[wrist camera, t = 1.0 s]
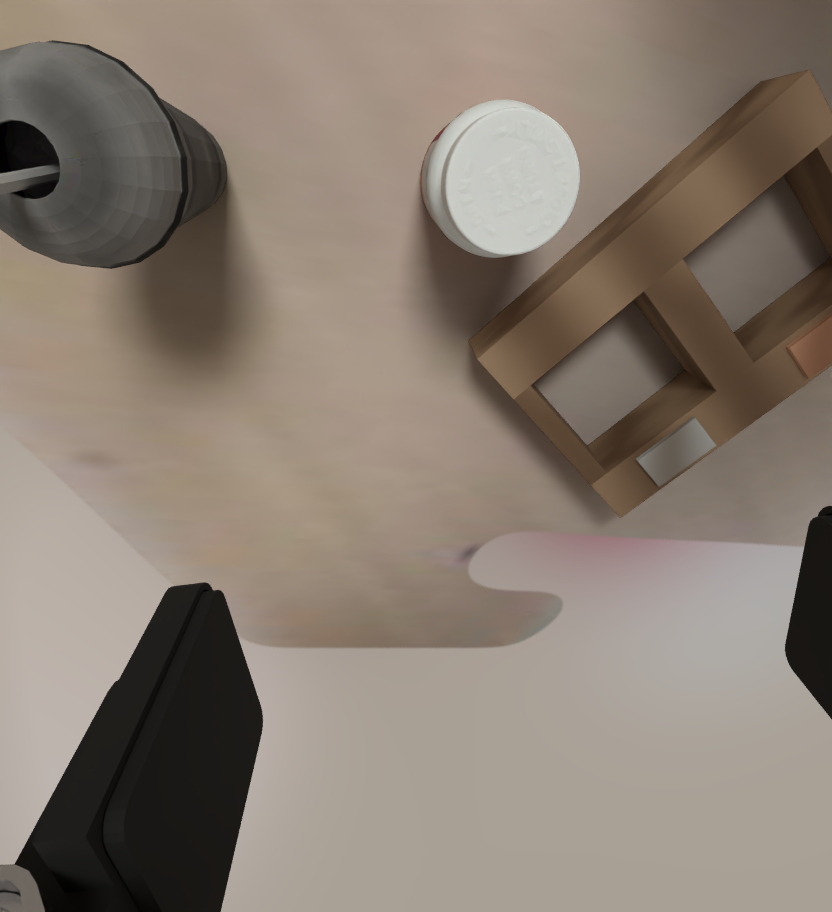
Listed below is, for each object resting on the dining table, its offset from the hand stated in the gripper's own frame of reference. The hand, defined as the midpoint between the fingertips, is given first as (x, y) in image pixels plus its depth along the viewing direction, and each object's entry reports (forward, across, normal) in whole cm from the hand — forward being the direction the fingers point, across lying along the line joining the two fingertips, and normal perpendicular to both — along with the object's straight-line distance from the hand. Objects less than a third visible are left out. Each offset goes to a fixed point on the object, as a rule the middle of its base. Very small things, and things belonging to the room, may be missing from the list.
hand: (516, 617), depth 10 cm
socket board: (+28, -14, +3) cm, 32 cm away
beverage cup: (+28, +12, -8) cm, 32 cm away
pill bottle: (+28, -3, -6) cm, 29 cm away
